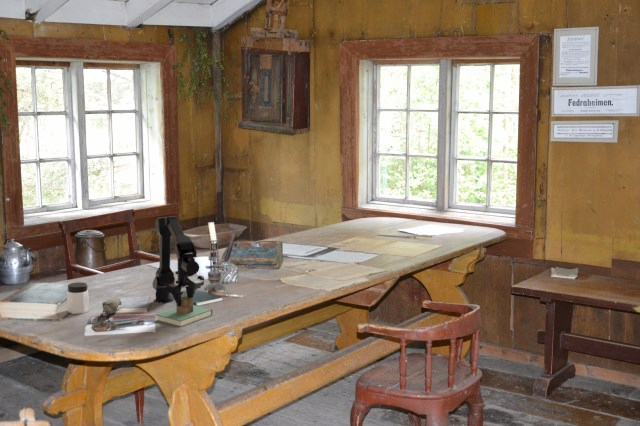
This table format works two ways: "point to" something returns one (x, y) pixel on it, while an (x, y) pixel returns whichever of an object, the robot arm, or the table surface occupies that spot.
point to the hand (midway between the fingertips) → (184, 304)
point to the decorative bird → (111, 306)
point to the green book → (184, 316)
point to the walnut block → (185, 305)
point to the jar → (77, 298)
